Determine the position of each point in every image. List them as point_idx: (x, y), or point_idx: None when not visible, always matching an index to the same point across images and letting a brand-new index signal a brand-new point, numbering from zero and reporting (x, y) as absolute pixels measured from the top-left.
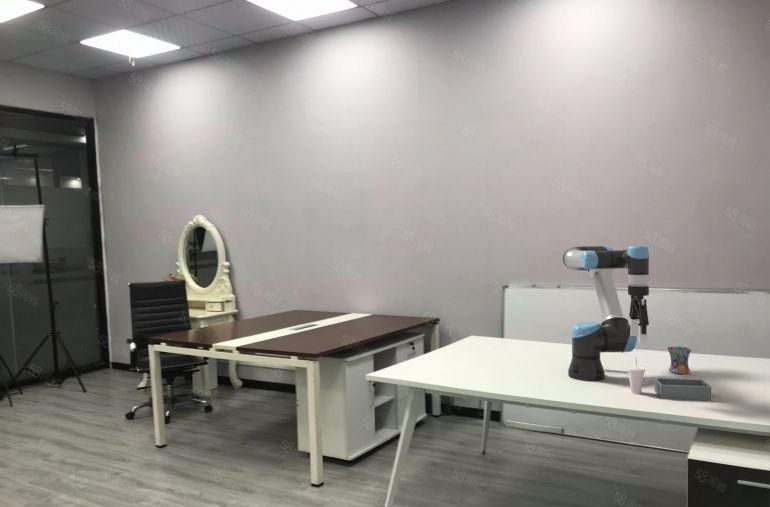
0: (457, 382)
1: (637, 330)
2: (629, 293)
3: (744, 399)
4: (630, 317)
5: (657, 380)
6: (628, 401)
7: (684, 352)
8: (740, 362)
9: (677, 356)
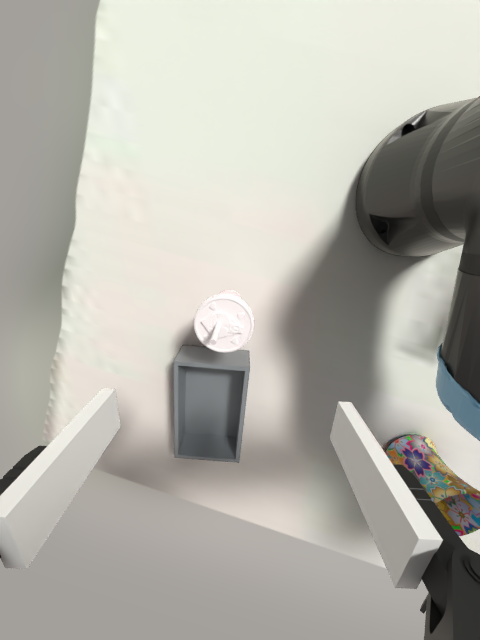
0: None
1: (346, 467)
2: None
3: (197, 481)
4: (477, 576)
5: (223, 367)
6: (141, 257)
7: None
8: None
9: (423, 485)
